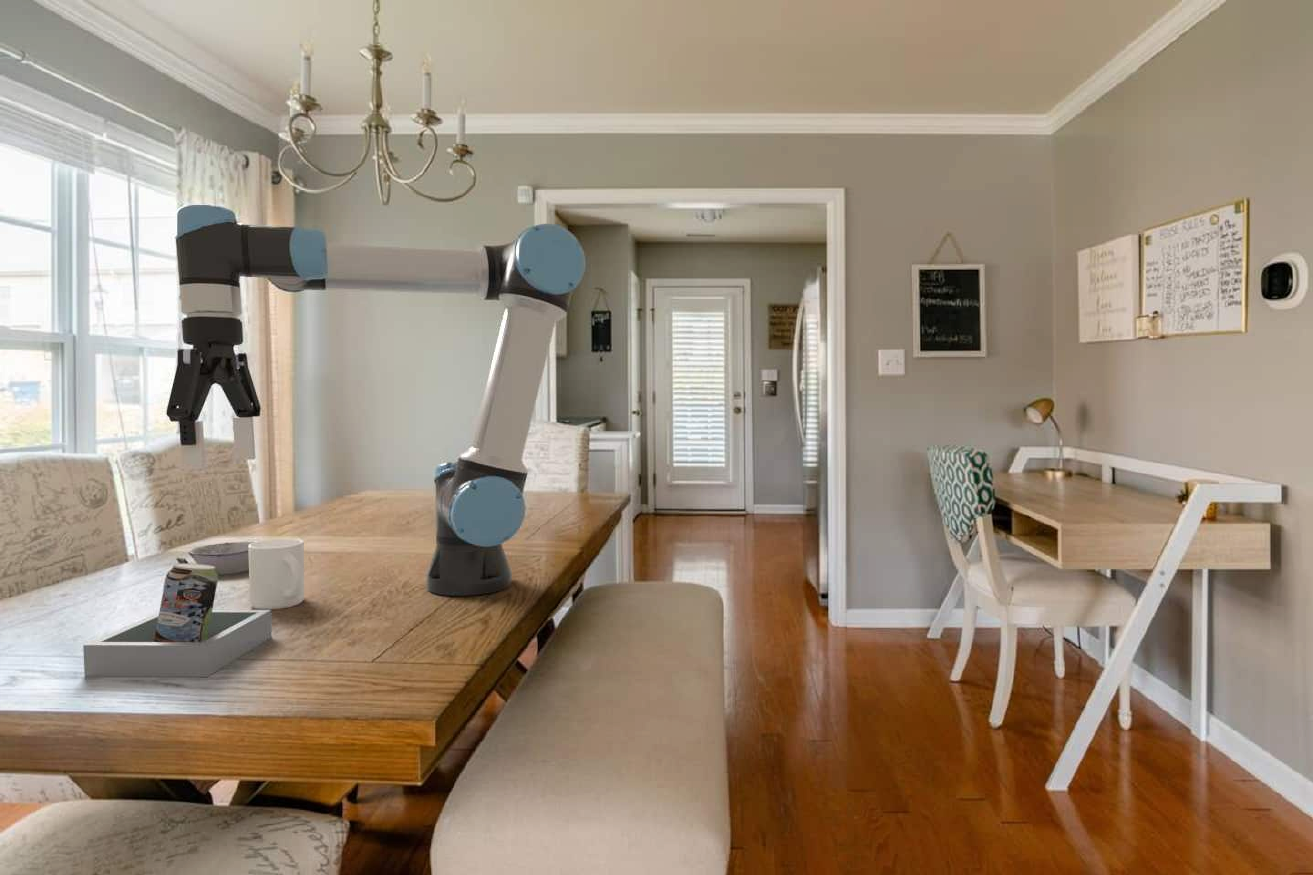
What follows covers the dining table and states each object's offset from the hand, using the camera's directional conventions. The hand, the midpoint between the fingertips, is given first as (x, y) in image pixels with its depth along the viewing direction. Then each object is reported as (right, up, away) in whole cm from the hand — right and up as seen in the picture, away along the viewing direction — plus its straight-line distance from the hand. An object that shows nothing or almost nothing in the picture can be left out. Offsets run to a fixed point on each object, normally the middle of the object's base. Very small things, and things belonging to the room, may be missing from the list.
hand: (221, 464), depth 108 cm
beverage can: (0, -25, -8) cm, 27 cm away
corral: (0, -26, -8) cm, 27 cm away
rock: (-14, -25, +14) cm, 32 cm away
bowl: (-23, -23, +41) cm, 53 cm away
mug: (+1, -25, +16) cm, 29 cm away
